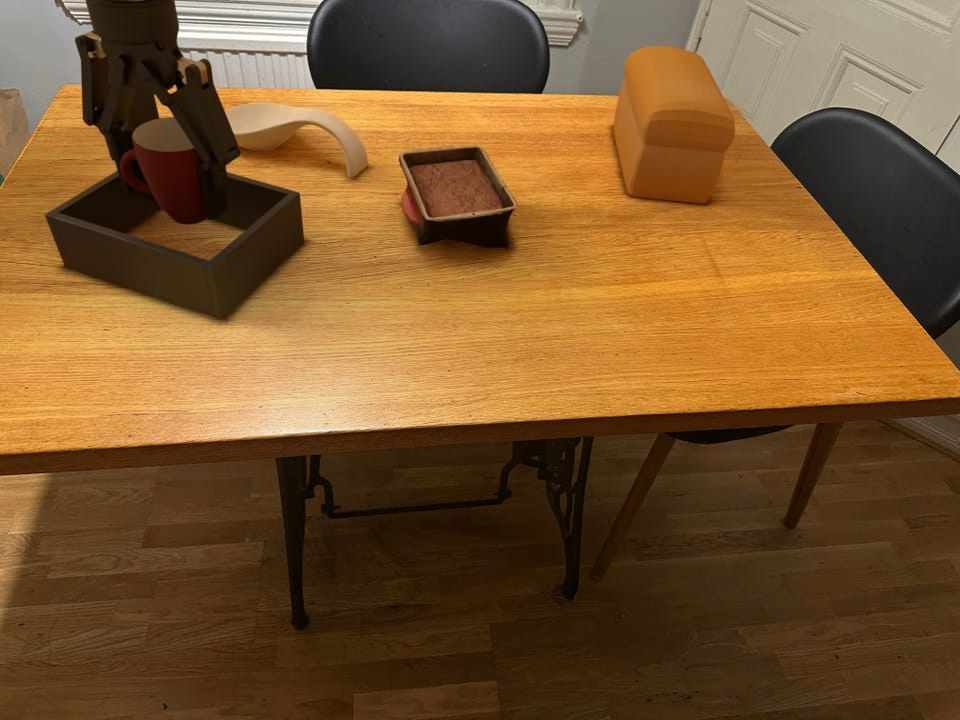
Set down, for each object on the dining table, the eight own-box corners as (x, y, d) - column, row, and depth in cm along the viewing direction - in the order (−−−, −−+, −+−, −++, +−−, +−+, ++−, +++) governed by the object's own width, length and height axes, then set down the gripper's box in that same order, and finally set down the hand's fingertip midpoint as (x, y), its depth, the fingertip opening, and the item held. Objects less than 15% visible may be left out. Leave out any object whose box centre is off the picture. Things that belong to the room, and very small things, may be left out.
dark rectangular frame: (64, 267, 79) (43, 214, 75) (163, 199, 91) (150, 149, 87) (223, 320, 75) (212, 267, 71) (304, 241, 87) (300, 192, 83)
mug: (120, 232, 76) (95, 148, 70) (140, 194, 82) (119, 112, 75) (220, 236, 78) (204, 154, 71) (233, 198, 83) (220, 119, 77)
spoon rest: (200, 147, 102) (191, 99, 97) (250, 118, 110) (243, 72, 106) (340, 191, 97) (338, 142, 92) (382, 156, 105) (381, 111, 100)
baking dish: (406, 274, 88) (417, 213, 80) (391, 183, 98) (398, 121, 90) (515, 275, 92) (534, 216, 84) (489, 188, 102) (504, 128, 94)
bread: (711, 205, 104) (746, 107, 93) (625, 196, 103) (651, 97, 93) (683, 132, 121) (710, 43, 111) (610, 125, 121) (630, 35, 111)
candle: (113, 124, 105) (60, -65, 88) (143, 114, 108) (97, -71, 91) (134, 135, 103) (84, -56, 86) (164, 125, 106) (121, -62, 89)
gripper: (-8, -29, 63) (67, 188, 78) (211, 27, 59) (244, 245, 74) (56, -47, 68) (114, 160, 83) (261, 4, 64) (282, 212, 79)
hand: (175, 200), depth 79 cm, fingers closed on mug, 10 cm apart
